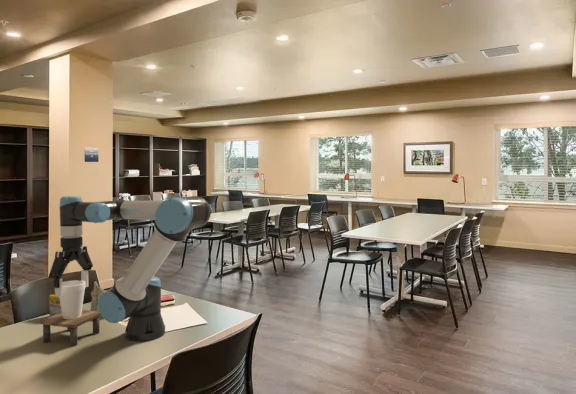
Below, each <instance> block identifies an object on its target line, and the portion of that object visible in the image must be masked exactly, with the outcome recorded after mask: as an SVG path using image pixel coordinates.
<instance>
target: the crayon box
mask: <svg viewBox="0 0 576 394" xmlns="http://www.w3.org/2000/svg"><path fill="white" fill-rule="evenodd" d="M53 291H54V293H53V294H49V296H48V297H49V300H48V301H49V303H48V304H49V317H51V316H53V315H56V314H58V313H60V312H62V310H61V304H60V298H59V296H55V289H54V290H53Z"/></svg>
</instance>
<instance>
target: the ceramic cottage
mask: <svg viewBox="0 0 576 394" xmlns="http://www.w3.org/2000/svg"><path fill="white" fill-rule="evenodd" d="M109 290H111V288H109ZM106 291H107V290H106V289H105V290H104V288H102V287H101V286H99V284H98V282H97V281H93V290H91V292H90V295H91V301H90V309H89V311H96V312H99V308H98V299H99V297H100V295H101V294H103V293H104V292H106ZM99 320H105V319H104V318H103V317H102V316H99Z"/></svg>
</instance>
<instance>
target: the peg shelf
mask: <svg viewBox="0 0 576 394" xmlns="http://www.w3.org/2000/svg"><path fill="white" fill-rule="evenodd" d="M99 316H101V314H100V312H96V311H90V310H86V309H82V313H81V316H80V317H78V318H75V319H64V318H63V316H62V312H60V313H58V314H56V315H53V316H51V317H50V316H49V317H46V318H44V319H41V320H40V321H39V322H40V323H39V324H40V325H42V333H43V334H42V338H43V339H42V342H43V343H45V344H46V343H51V337H52V336H51V334H52V333H51V326H52V327H60V328H66V331H68V332H69V338H70V339H69V345H70V347H76V346H78V327H80V326H83V325H84V324H86V323H89V322H90V321H92V335H98V334H100V319H99Z"/></svg>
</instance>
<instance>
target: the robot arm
mask: <svg viewBox="0 0 576 394" xmlns="http://www.w3.org/2000/svg"><path fill="white" fill-rule="evenodd" d="M58 209H59V221H60V222H59V224H60V225H59V227H60V231H59V232H60V233H59V234H60V236H61V237H60V241H59V242H60V243H59V244H60V248H62V250H61V251H55V252H54V253H55V254H54V259H53V262H52V265H51V267H50V272H49V274H48V278H49V279H50V280H53V288H54V290H55V296H63V286H62V282H63V278H62V276H63V274H64V272H65V270H66V268H67V267H68V264H70V263H71V262H74V261H75V262H77V264H78V265H79V267H81V269H82V270H81V271H80V273H81V274H80V277H81V279H80V280H82V281H85V288H88V287H89V279H90V271H91V270H92V268H93V266H94V264H93V262H92V260H91V257H90V255H89V252H88V246H86V245H84V244H83V242H84V241H83V223H93V224H98V223H99V224H100V223H101V224H102V223H105V222H106V221H110V220H137V221H138V220H140V221H141V220H142V221H147V220H148V221H154V224H153V227H154V229H155V230H154V231H153V233H152V234H151V236H150V237H149V239H148V241H146V244H144V246H143V248H141V251H140V252H139V254H138V256H137V257H136V258H135V260H134V261H133V262H132V264H131V266H130V267H129V269H128V271H127V272H126V273H125V275H124V276H121V277H119V278H118V279H116V280H115V282H114V284H113V285H112V286H111V288H110V289H111V290H110V289H109V290H106V292H104V293H103V294H101V295H100V297H99V299H98V308H99V312H100V314H101V316H102V317H103V318H104V319H103V320H105V321H106V322H108V323H110V324H111V323H112V324H117V323H119V322H123V321H124V320H126V319H128V321H127V324H126V327H125V331H124V333H125V335H124V337H125V338H126V339H128V340H131V341H134V342H135V341H136V342H144V341H151V340H155V339H158V338H160V337H162V336H164V335H165V333H166V325H165V322H164V319H163V316H162V311H161V307H162V306H161V305H162V301H161V300H162V285H161V283H162V282H161V279H160V278H159V277H158V276H155V275H156V274H157V272H158V271H159V269H160V268H161V266H162V265H163V264H164V262H165V261H166V259H167V258H168V256H169V255H170V253H171V251H173V249H174V248H175V246H176V244H177V243H182V242H184V241H185V239H186V237H187V236H188V235H189V233H190V232H191V231H192V230H194V229H199V228H202V227H203V226H205V225H206V224H207V223H208V221H209V220H210V218H211V216H212V215H211V213H212V208H211V206H210V204H209V202H208V201H207V200H206V199H205V198H203V197H201V196H196V195H193V196H191V195H190V196H185V197H180V196H175V197H170V198H168V199H165V200H127V199H117V200H107V201H106V200H104V201H93V202H92V201H83V199H82V196H78V195H69V196H68V195H65V196H62V197H60V199H59V208H58ZM83 245H84V246H83Z"/></svg>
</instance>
